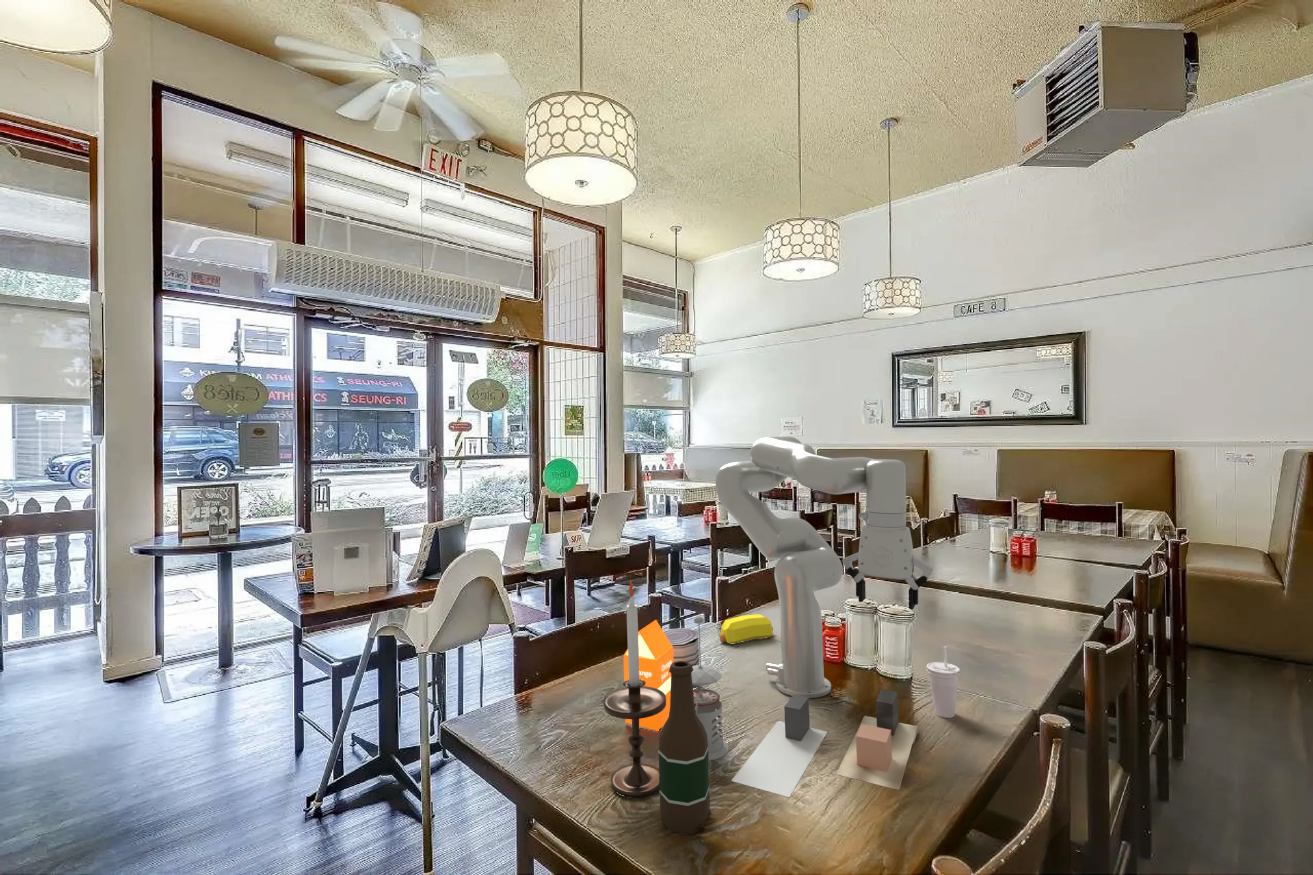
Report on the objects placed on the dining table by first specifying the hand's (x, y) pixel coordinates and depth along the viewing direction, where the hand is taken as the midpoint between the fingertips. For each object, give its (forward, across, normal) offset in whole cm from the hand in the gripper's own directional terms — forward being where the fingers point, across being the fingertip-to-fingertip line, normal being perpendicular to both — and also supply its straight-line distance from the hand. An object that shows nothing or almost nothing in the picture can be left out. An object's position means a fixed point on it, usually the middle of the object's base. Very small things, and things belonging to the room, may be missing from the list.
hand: (886, 603), depth 119 cm
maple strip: (+24, +1, -13) cm, 28 cm away
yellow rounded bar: (+27, -46, +35) cm, 64 cm away
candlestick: (+25, -33, -42) cm, 59 cm away
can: (+26, -48, -3) cm, 55 cm away
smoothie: (+24, +10, +10) cm, 28 cm away
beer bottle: (+25, -21, -47) cm, 57 cm away
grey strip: (+24, -13, -24) cm, 37 cm away
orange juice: (+26, -43, -22) cm, 55 cm away
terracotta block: (+23, +1, -18) cm, 29 cm away
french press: (+25, -28, -27) cm, 47 cm away
